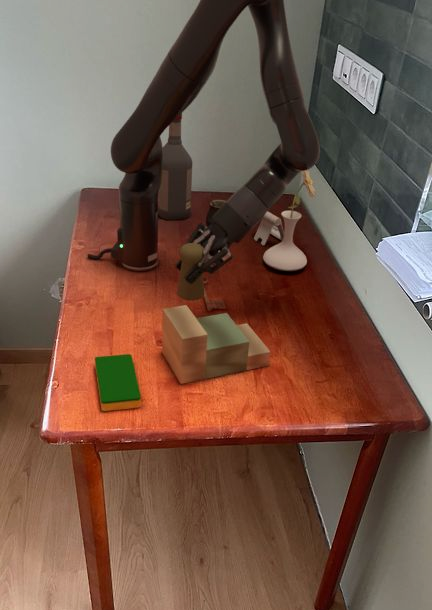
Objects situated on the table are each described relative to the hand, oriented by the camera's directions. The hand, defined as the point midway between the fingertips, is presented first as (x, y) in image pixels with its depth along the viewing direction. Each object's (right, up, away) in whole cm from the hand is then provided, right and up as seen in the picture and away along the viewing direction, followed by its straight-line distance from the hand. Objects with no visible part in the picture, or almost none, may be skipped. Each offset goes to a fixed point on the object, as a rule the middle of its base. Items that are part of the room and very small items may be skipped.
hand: (183, 274), depth 128 cm
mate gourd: (+7, +21, +47) cm, 52 cm away
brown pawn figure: (+1, -3, +4) cm, 5 cm away
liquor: (-6, +27, +54) cm, 61 cm away
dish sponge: (-12, -23, -11) cm, 28 cm away
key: (+5, -2, +18) cm, 19 cm away
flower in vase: (+25, +9, +33) cm, 43 cm away
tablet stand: (+22, +17, +44) cm, 52 cm away
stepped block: (+7, -18, -2) cm, 19 cm away
